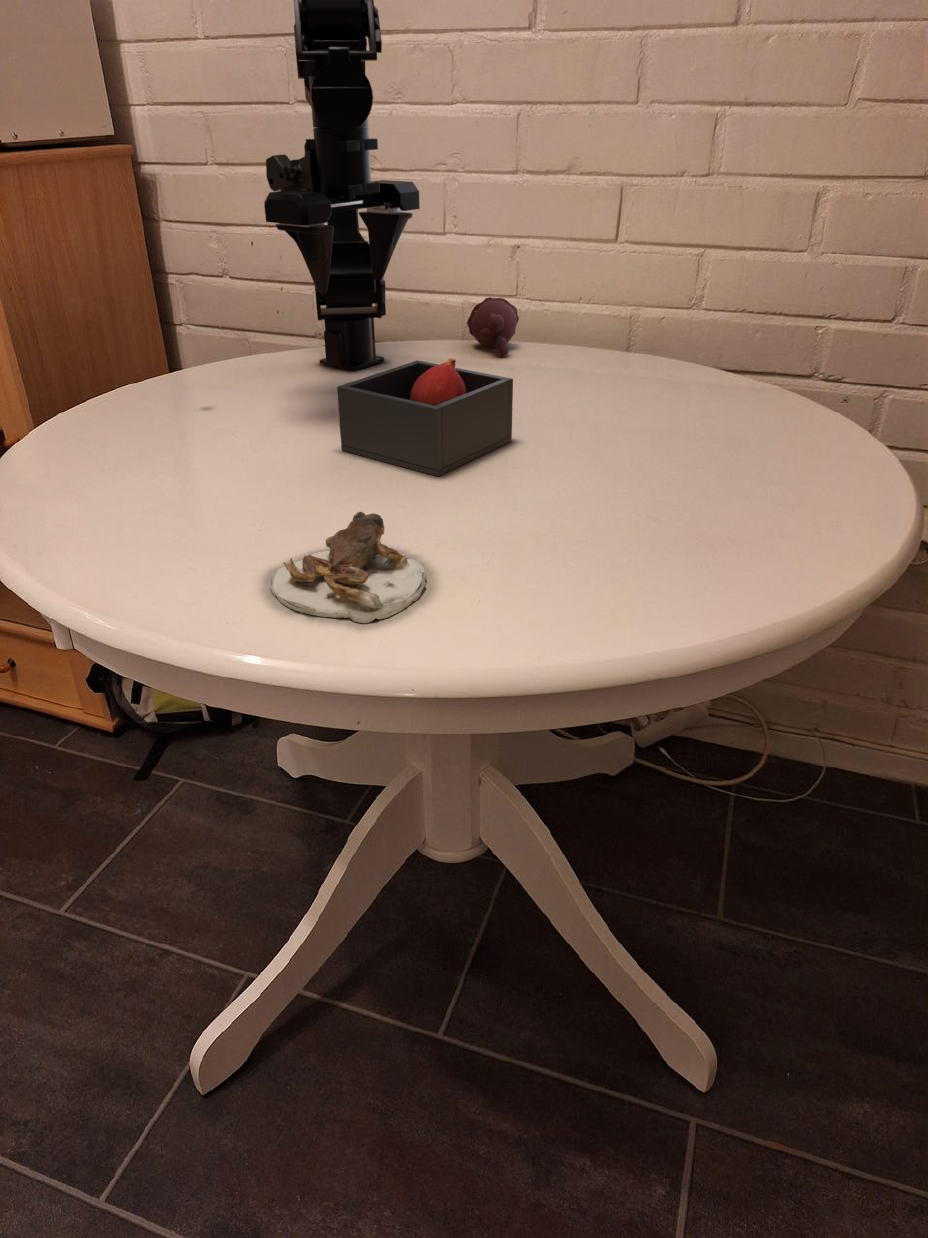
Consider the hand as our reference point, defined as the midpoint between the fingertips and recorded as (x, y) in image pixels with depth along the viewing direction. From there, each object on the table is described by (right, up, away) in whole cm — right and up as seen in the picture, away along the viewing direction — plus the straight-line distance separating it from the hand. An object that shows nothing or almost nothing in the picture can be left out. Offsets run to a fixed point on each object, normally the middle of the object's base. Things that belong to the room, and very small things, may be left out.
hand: (351, 285), depth 102 cm
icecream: (+17, +2, +29) cm, 34 cm away
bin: (+9, -19, -8) cm, 23 cm away
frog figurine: (+4, -35, -34) cm, 48 cm away
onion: (+9, -18, -8) cm, 22 cm away
